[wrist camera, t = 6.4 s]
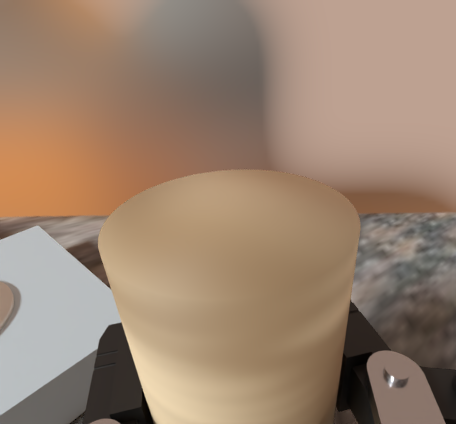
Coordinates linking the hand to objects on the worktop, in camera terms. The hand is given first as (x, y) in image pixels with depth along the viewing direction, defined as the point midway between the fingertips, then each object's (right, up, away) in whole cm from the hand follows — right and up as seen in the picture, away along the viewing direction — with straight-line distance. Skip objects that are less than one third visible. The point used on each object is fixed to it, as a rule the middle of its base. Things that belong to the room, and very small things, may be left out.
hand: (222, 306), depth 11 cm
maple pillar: (+1, -7, +1) cm, 7 cm away
